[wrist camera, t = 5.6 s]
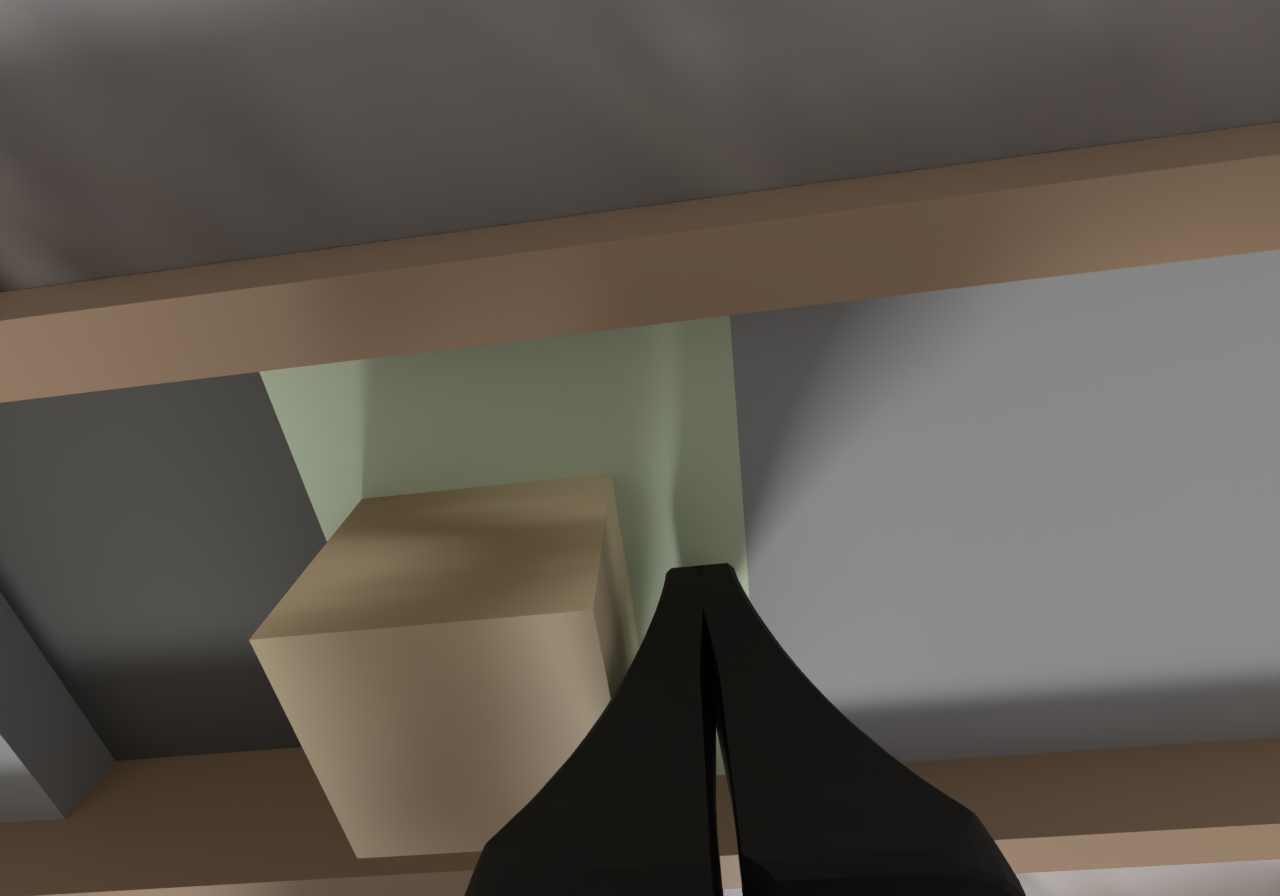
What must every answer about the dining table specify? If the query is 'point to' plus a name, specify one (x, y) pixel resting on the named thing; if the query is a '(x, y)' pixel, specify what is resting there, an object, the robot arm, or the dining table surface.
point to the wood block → (452, 655)
